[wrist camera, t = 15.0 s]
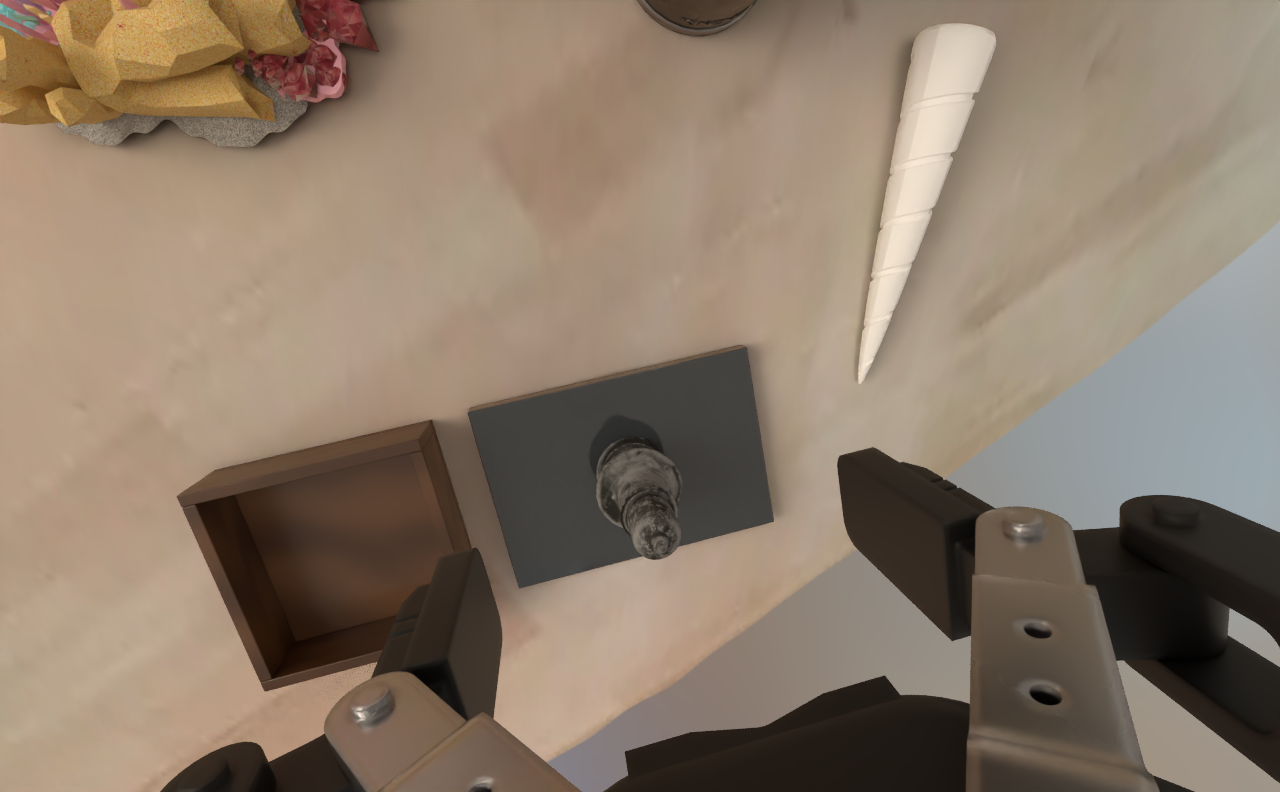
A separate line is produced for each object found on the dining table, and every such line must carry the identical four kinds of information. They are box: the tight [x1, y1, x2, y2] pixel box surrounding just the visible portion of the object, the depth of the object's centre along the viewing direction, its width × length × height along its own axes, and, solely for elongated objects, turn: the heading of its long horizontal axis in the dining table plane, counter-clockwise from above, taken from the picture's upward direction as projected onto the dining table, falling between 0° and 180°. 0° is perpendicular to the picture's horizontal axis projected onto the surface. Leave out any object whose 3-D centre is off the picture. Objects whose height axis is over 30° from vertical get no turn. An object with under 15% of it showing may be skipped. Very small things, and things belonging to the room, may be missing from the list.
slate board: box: [468, 345, 774, 588], centre depth 44 cm, size 14×20×1 cm
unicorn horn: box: [858, 23, 997, 384], centre depth 41 cm, size 5×24×5 cm, turn 168°
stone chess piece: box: [596, 437, 682, 560], centre depth 38 cm, size 6×6×12 cm
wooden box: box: [177, 420, 472, 691], centre depth 41 cm, size 15×15×4 cm
